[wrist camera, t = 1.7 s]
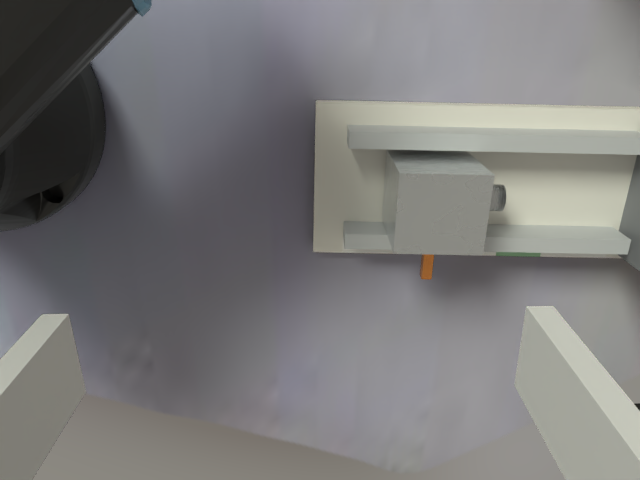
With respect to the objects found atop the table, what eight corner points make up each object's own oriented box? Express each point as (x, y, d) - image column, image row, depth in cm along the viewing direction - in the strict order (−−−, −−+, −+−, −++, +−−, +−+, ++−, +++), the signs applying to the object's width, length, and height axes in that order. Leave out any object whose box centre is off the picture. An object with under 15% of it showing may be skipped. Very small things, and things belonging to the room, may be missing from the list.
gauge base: (313, 245, 38) (311, 301, 30) (315, 100, 34) (314, 121, 26) (652, 252, 38) (736, 309, 30) (692, 108, 34) (798, 131, 26)
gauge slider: (379, 253, 36) (390, 295, 31) (386, 148, 34) (399, 173, 28) (479, 255, 36) (507, 297, 31) (494, 150, 34) (529, 175, 28)
